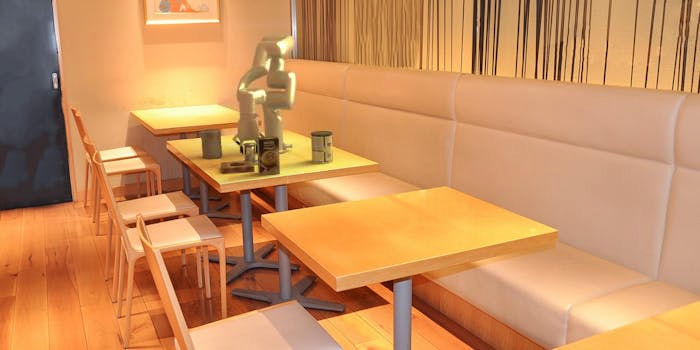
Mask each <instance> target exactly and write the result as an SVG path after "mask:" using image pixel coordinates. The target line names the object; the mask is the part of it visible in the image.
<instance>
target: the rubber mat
mask: <svg viewBox="0 0 700 350" xmlns="http://www.w3.org/2000/svg"><path fill="white" fill-rule="evenodd" d="M242 161H245V159H243V160H242ZM253 165H254V166H255V165H257V166H258V159H255V162H254V163H253Z"/></svg>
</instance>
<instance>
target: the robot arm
mask: <svg viewBox="0 0 700 350" xmlns="http://www.w3.org/2000/svg"><path fill="white" fill-rule="evenodd" d="M294 39H295V38H294V37H293V36H292V35H291V34H268V35H267V34H266V35H264V36H263V37H262V38H261V41H259V42H258V43H257V45H256V48H255V51H254V52H255V53H254V57H253V60H252V65H251V68H250V69H249V70H248V71H246V73H245V74H244V75H243V76H242V77H241V78H240V80H239V82H238V86H237V90H236V100H237V102H238V104H239V105H238V108H239V119H238V120H237V121H238V122H237V133H236V134H235V135H234V136H233V138H232V141H233V142H235V144H237V146H239V153H240V154H241V155H242V156H245V152H244V145H243V144H244V142H248V141H249V142H250V141H251V142H252V141H254V143H256V145H255V155H258V150H257V137H278V138H279V155H280V154H283V153H287V149H293V143H285V142H284V128H283V125H284V124H283V116H282V115H281V113H280V111H291V110H293V109H294V108H295V105H296V98H297V97H296V96H297V88H298V87H297V86H298V78H297V75H296V73H295V71H292V70H285V59H284V58H285V57H286V56H288V55H289V54H291V52H293V51H294V48H295V44H296V42H295V40H294ZM265 76H266V81H265V83H266V87H267V88H268V89H271V90H268V91H265V90H264V89H262V88H251V87H250V88H249V85H251V84H252V83H253V82H254V81H256V80H258V79H259V80H260V79H261V78H263V77H265ZM279 90H285V91H279ZM256 105H261V109H262V113H263V128H264V129H263V130H264V134H262V133H261V132H260V126H259V120H258V117H260V114H259V113H257V112H256V110H257V109H256ZM237 139H238V140H237Z"/></svg>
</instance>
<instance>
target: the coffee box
mask: <svg viewBox="0 0 700 350" xmlns="http://www.w3.org/2000/svg"><path fill="white" fill-rule="evenodd" d="M257 150H258V154H257V160H258V165H257V170H258V171H257V173H258V174H259V176H266V175H267V176H268V175H269V176H270V175H280V174H281V168H280V167H281V166H280V161H281V159H280V154H279V138H278V137H261V136H260V137H257Z"/></svg>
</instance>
